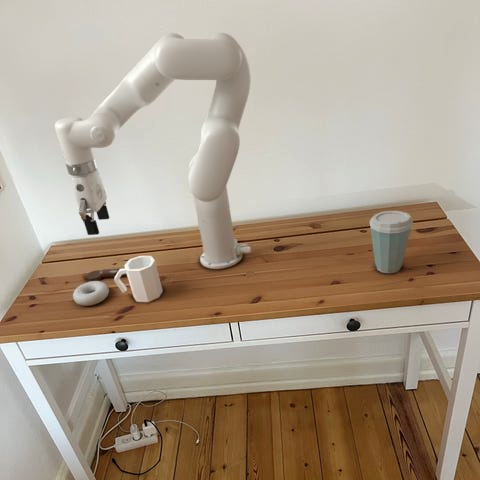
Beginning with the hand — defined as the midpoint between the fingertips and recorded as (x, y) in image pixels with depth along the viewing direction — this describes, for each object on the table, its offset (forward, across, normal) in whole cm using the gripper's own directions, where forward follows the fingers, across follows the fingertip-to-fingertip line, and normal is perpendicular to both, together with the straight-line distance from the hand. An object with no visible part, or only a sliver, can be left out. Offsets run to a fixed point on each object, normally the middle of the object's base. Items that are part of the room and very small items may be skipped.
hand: (99, 226), depth 151 cm
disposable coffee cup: (+15, -7, -79) cm, 81 cm away
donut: (+16, -12, +3) cm, 20 cm away
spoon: (+16, 0, +1) cm, 16 cm away
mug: (+16, -12, -12) cm, 23 cm away
